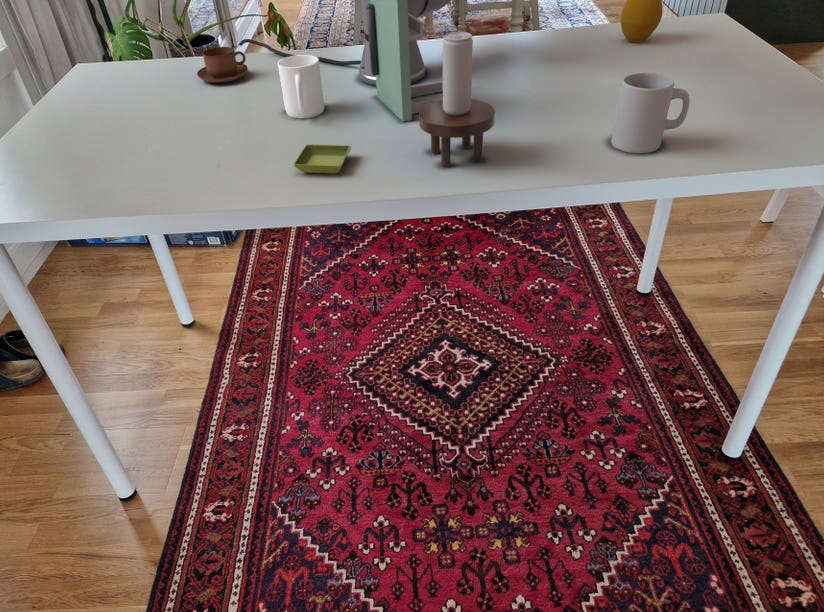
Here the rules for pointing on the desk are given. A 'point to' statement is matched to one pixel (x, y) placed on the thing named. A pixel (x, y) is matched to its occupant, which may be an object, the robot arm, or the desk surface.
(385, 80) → the mint green upright panel
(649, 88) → the mug
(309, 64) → the cup
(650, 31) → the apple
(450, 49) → the beverage can
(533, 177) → the desk surface
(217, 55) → the cup and saucer
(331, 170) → the green square dish
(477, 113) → the stool
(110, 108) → the desk surface
